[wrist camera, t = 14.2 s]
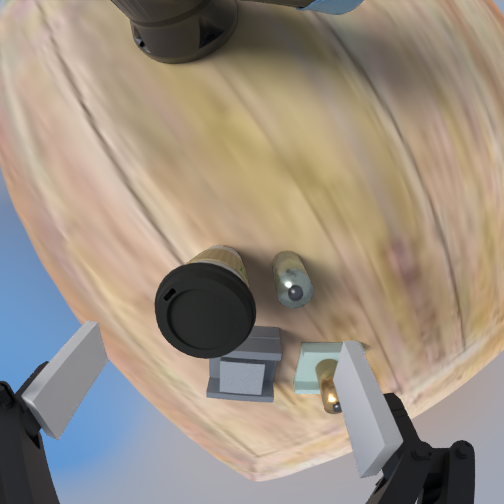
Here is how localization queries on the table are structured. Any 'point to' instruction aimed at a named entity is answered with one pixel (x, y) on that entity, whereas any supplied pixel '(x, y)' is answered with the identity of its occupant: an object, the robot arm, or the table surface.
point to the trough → (313, 364)
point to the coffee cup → (206, 304)
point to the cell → (328, 385)
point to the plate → (241, 375)
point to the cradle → (254, 347)
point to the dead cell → (291, 280)
